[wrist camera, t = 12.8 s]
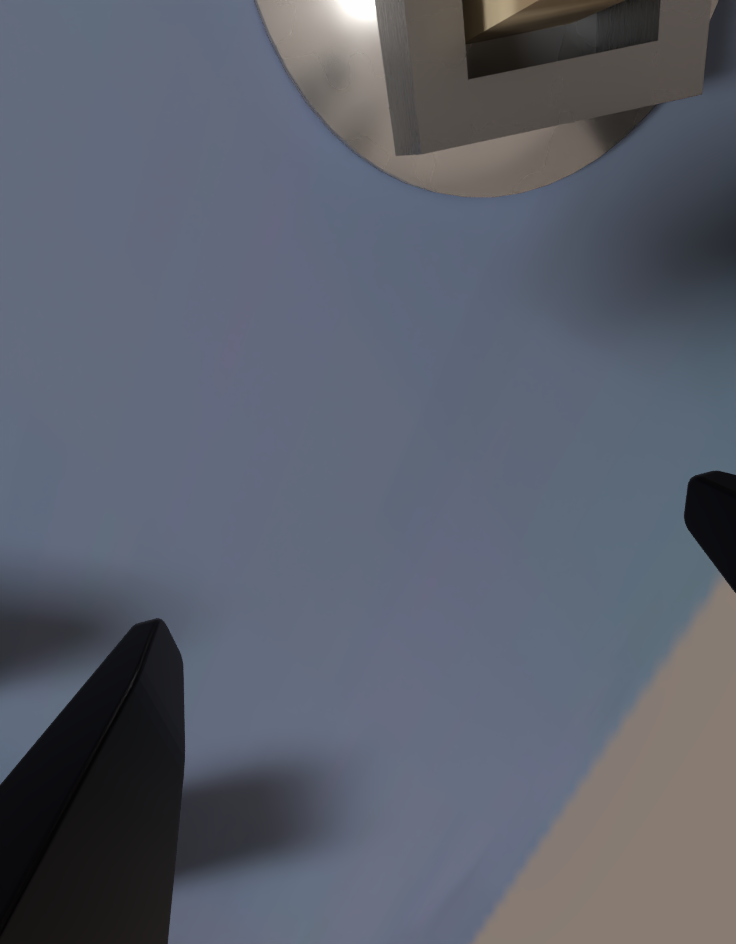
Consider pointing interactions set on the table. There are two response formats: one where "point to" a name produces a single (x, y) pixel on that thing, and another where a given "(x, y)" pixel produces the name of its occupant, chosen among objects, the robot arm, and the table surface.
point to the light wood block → (523, 16)
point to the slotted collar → (484, 85)
